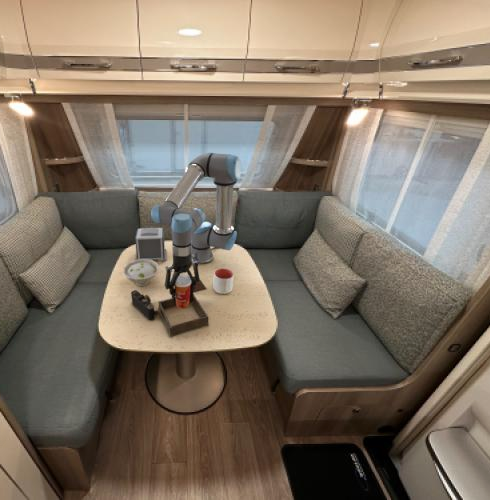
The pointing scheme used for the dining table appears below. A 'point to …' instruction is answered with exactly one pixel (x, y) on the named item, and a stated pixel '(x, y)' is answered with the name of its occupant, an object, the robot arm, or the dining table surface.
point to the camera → (143, 305)
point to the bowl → (141, 271)
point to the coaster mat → (199, 286)
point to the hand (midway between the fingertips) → (182, 296)
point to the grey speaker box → (150, 244)
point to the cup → (223, 280)
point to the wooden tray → (186, 325)
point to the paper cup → (182, 291)
